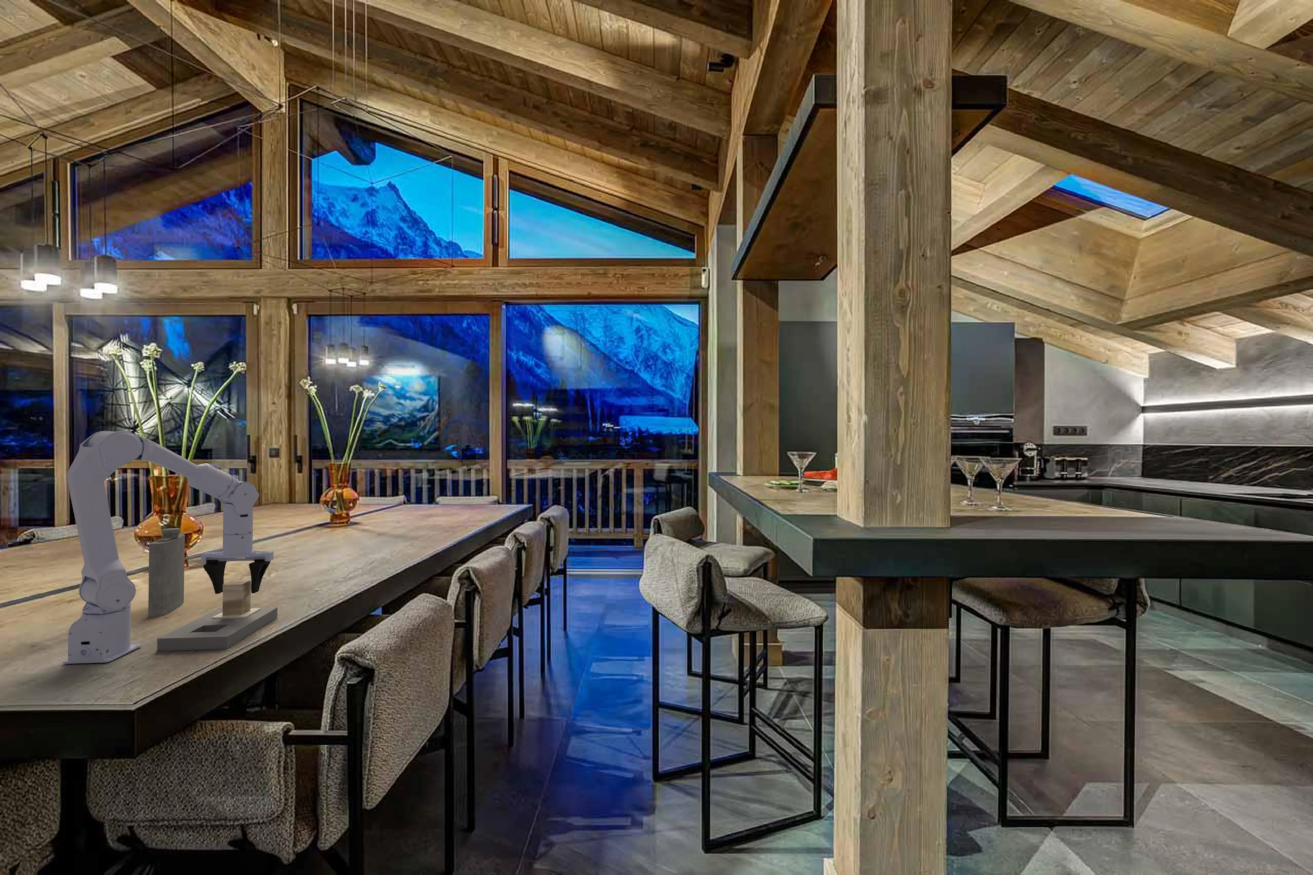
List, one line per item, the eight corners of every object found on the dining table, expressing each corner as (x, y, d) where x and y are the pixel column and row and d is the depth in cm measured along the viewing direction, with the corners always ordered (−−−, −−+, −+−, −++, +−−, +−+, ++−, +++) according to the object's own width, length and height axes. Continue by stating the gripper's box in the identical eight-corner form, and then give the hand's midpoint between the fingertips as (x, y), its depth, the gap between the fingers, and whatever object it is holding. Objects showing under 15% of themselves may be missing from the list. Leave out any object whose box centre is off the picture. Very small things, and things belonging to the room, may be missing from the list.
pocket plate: (227, 648, 127) (227, 635, 127) (157, 650, 126) (157, 637, 126) (277, 617, 149) (277, 606, 149) (218, 619, 147) (218, 607, 147)
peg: (241, 615, 142) (242, 584, 142) (222, 615, 141) (222, 584, 141) (250, 610, 145) (250, 580, 145) (231, 610, 145) (232, 580, 145)
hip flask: (171, 601, 163) (172, 524, 163) (189, 600, 164) (190, 523, 164) (145, 618, 148) (146, 533, 148) (166, 616, 149) (167, 532, 149)
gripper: (279, 530, 148) (279, 587, 148) (213, 530, 146) (212, 588, 146) (265, 535, 141) (264, 595, 141) (195, 535, 139) (194, 596, 139)
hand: (237, 592), depth 143 cm, fingers open, 7 cm apart
